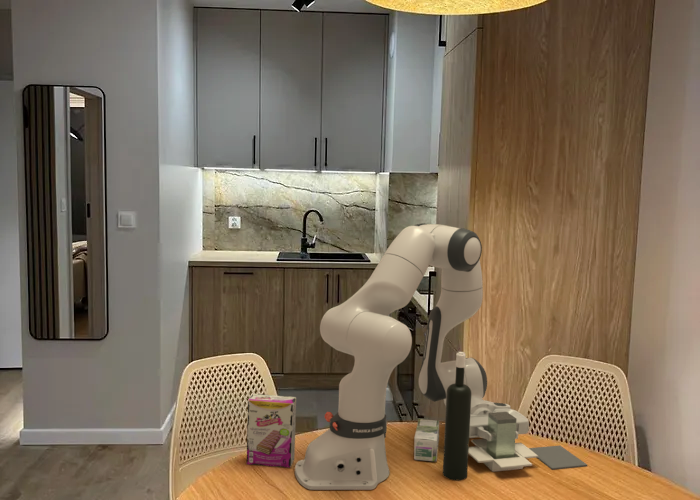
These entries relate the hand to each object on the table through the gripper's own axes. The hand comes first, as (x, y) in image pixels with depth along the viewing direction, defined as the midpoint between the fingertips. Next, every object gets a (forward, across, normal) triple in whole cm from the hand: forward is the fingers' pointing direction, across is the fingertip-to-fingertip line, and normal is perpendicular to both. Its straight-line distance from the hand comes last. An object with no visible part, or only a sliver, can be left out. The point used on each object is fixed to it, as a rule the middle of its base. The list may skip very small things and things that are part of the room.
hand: (504, 437), depth 159 cm
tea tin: (-1, 0, +7) cm, 7 cm away
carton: (-1, 0, +7) cm, 7 cm away
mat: (-1, +16, +7) cm, 18 cm away
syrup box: (-19, -12, +4) cm, 23 cm away
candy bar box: (-12, -56, +8) cm, 58 cm away
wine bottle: (+3, -14, +8) cm, 16 cm away
